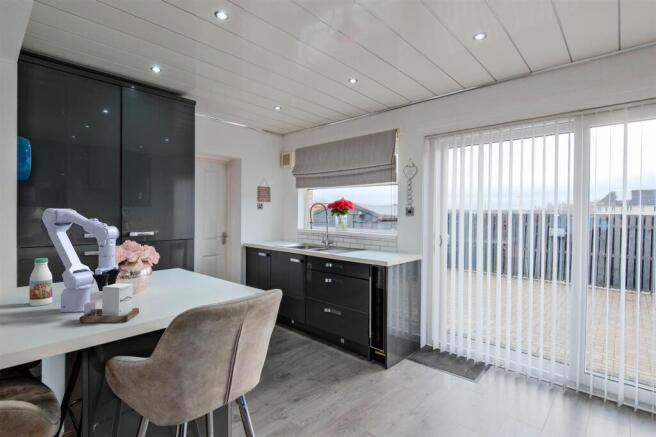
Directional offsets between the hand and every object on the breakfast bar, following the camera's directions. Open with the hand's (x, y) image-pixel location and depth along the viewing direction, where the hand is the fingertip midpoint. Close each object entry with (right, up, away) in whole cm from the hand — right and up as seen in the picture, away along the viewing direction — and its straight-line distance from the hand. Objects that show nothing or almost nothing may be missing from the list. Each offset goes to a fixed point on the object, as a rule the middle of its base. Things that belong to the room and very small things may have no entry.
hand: (106, 289), depth 139 cm
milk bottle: (-36, -9, +10) cm, 38 cm away
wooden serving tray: (+7, -10, -8) cm, 14 cm away
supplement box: (+9, -10, -8) cm, 15 cm away
